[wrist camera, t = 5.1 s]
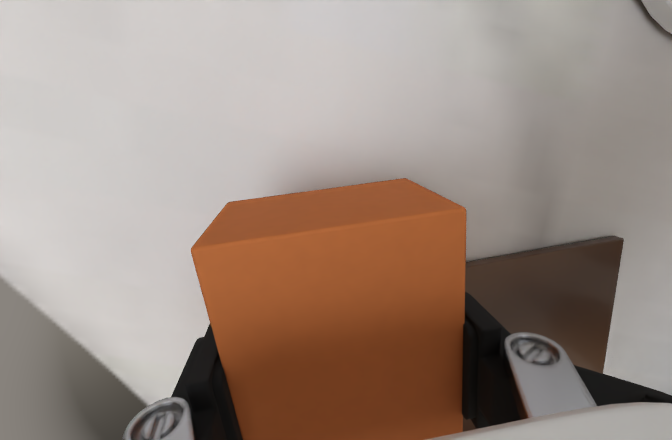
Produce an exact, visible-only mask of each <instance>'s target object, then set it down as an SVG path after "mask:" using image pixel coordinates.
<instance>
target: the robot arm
mask: <svg viewBox="0 0 672 440" xmlns="http://www.w3.org/2000/svg"><path fill="white" fill-rule="evenodd" d="M641 1H642V2H643V4H644V6H645V7H646V9H647V11H648V12H649V14H650V15H651V17H652V18H653V19H654V20H655V21H657V22H658V23H659V24H660V25H661V26H662V27H663V28H664V29H665V30H666V31H667V32H669V33H671V34H672V0H641ZM462 415H463V417H464V418H465V419H466V420H468V419H471V421H472V423H473V424H474V426H475V428H476V429H474V430H469V431H465V432H460V433H455V434H450V435H445V436H440V437H435V438H431V439H426V440H672V396H671V395H668V394H666V393H663V392H660V391H657V390H654V389H651V388H647V387H644V386H641V385H638V384H634V383H631V382H628V381H625V380H621V379H618V378H615V377H612V376H608V375H605V374H602V373H599V372H596V371H592V370H589V369H586V368H583V367H579V366H576V365H573V364H572V362H571V360H570V358H569V357H568V355H567V353H566V352H565V351H564V349H563V348H562V347H561V346H560V345H559V344H557V343H556V342H555V341H553V340H551V339H549V338H547V337H545V336H542V335H538V334H535V333H528V332H518V333H514V334H510V333H509V332H508V331H507V330H506V329H505V328H504V327H503V326H502V325H501V324H500V323H499V322H498V321H497V320H496V319H495V318H494V317H493V316H492V315H491V314H490V313H489V312H488V311H487V310H486V309H485V308H484V307H483V306H482V305H481V304H480V303H479V302H478V301H477V300H476V299H475V298H473V297H472V296H471V295H470V294H469V293H467V292H466V291H465V322H464V324H463V373H462ZM122 440H243V438H242V435H241V431H240V427H239V424H238V420H237V416H236V413H235V409H234V405H233V402H232V398H231V394H230V391H229V387H228V383H227V379H226V376H225V372H224V368H223V367H222V364H221V360H220V356H219V353H218V349H217V345H216V342H215V338H214V334H213V331H212V327H211V323H210V325H209V327H208V329H207V332H206V334H205V337H202V338H199V339H197V341H196V342H195V344H194V347H193V349H192V351H191V353H190V356H189V358H188V360H187V362H186V365H185V367H184V369H183V372H182V374H181V376H180V378H179V381H178V383H177V385H176V387H175V390H174V392H173V394H172V396H171V397H170V398H165V399H162V400H159V401H157V402H155V403H153V404H151V405H149V406H147V407H146V408H145V409H144V410H142V411H141V412H140V413H138V414H137V415H136V416H135V418H133V420H132V421H131V422H130V423H129V425H128V426H127V428H126V430H125V433H124V436H123V439H122Z"/></svg>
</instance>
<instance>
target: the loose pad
mask: <svg viewBox="0 0 672 440" xmlns="http://www.w3.org/2000/svg"><path fill="white" fill-rule="evenodd" d="M191 254H192V257H193V261H194V265H195V268H196V272H197V276H198V279H199V283H200V287H201V290H202V294H203V298H204V301H205V305H206V309H207V312H208V316H209V320H210V323H211V327H212V331H213V334H214V338H215V342H216V345H217V349H218V353H219V356H220V360H221V364H222V367H223V368H224V372H225V376H226V379H227V383H228V387H229V391H230V394H231V398H232V402H233V405H234V409H235V413H236V416H237V420H238V424H239V427H240V431H241V435H242V438H243V440H426V439H431V438H435V437H440V436H445V435H450V434H455V433H460V432H463V415H462V373H463V324H464V322H465V265H466V209H465V208H464V207H462V206H460V205H458V204H456V203H454V202H452V201H450V200H448V199H446V198H444V197H442V196H440V195H438V194H436V193H434V192H432V191H430V190H428V189H426V188H424V187H422V186H420V185H418V184H416V183H414V182H412V181H410V180H408V179H406V178H403V179H395V180H388V181H381V182H373V183H366V184H358V185H351V186H344V187H336V188H329V189H322V190H314V191H307V192H300V193H292V194H285V195H278V196H270V197H263V198H255V199H248V200H241V201H233V202H228V203H227V204H226V205H225V207H224V208H223V209H222V210H221V212H220V213H219V214H218V215H217V217H216V218H215V219H214V220H213V222H212V223H211V224H210V225H209V227H208V228H207V229H206V230H205V232H204V233H203V234H202V235H201V237H200V238H199V239H198V240H197V242H196V243H195V244H194V245H193V247H192V248H191Z"/></svg>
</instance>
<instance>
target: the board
mask: <svg viewBox="0 0 672 440" xmlns="http://www.w3.org/2000/svg"><path fill="white" fill-rule="evenodd" d="M623 241H624V239H623V238H619V237H616V236H611V237H605V238H599V239H594V240H588V241H583V242H577V243H571V244H566V245H560V246H555V247H549V248H544V249H538V250H532V251H527V252H521V253H516V254H510V255H504V256H499V257H493V258H488V259H482V260H476V261H471V262H466V265H465V291H466V292H467V293H469V294H470V295H471V296H472V297H473V298H475V299H476V300H477V301H478V302H479V303H480V304H481V305H482V306H483V307H484V308H485V309H486V310H487V311H488V312H489V313H490V314H491V315H492V316H493V317H494V318H495V319H496V320H497V321H498V322H499V323H500V324H501V325H502V326H503V327H504V328H505V329H506V330H507V331H508V332H509V333H510V334H514V333H518V332H528V333H535V334H538V335H542V336H545V337H547V338H549V339H551V340H553V341H555V342H556V343H557V344H559V345H560V346H561V347H562V348H563V349H564V351H565V352H566V353H567V355H568V357H569V358H570V360H571V362H572V364H573V365H576V366H579V367H583V368H586V369H589V370H592V371H596V372H599V373H602V374H603V368H604V362H605V355H606V349H607V343H608V336H609V330H610V324H611V317H612V311H613V305H614V298H615V292H616V286H617V279H618V273H619V267H620V260H621V254H622V248H623ZM474 429H476V428H475V426H474V424H473V423H472V421H471V419H468V420H466V419H465V418H464V417H463V432H465V431H469V430H474Z"/></svg>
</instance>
